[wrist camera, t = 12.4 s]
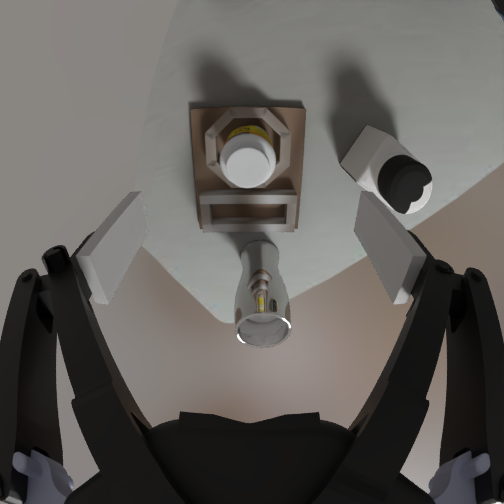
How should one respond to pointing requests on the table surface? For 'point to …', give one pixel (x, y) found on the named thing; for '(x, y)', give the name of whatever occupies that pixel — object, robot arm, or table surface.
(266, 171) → the supplement bottle
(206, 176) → the socket board
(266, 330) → the beer glass
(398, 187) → the medicine bottle
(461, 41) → the table surface
